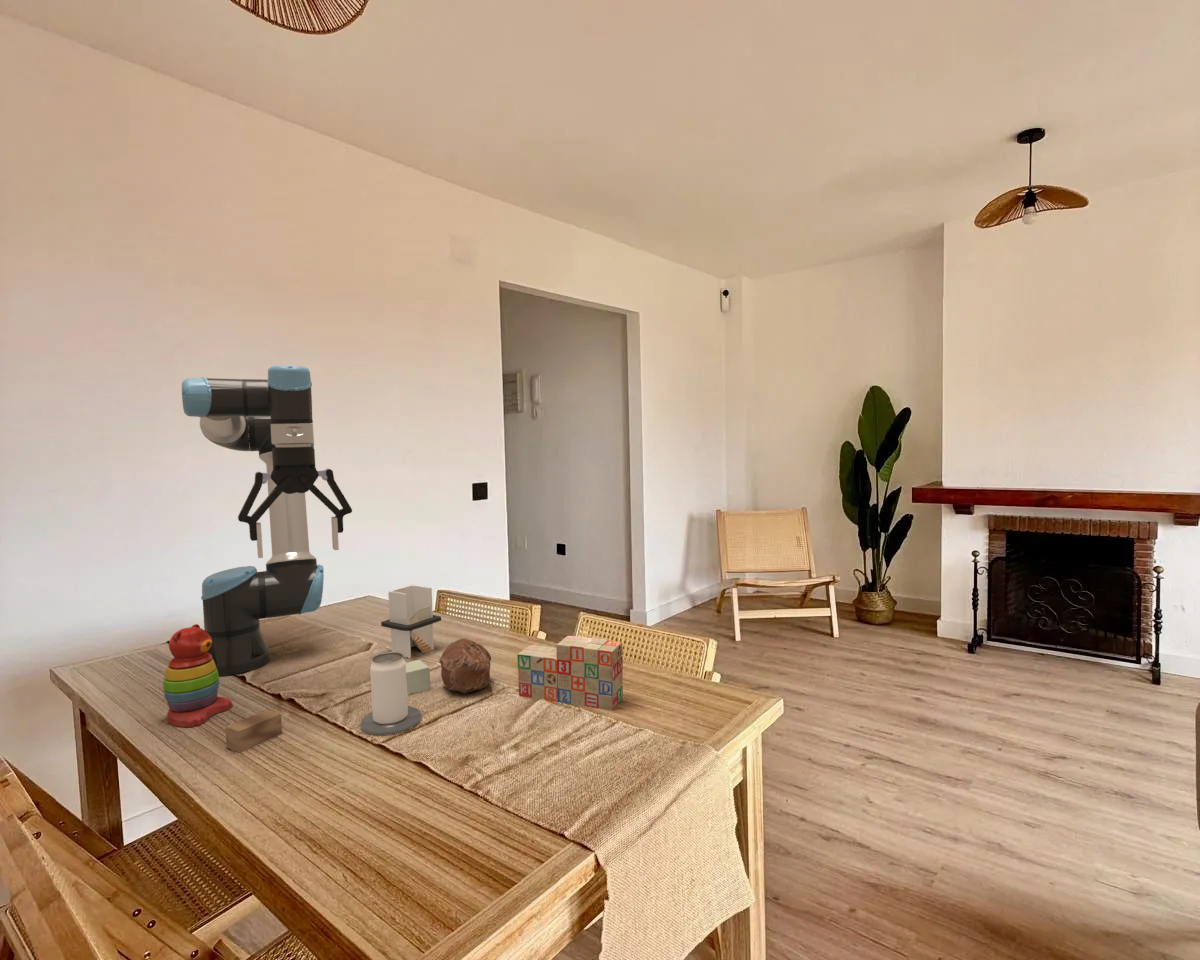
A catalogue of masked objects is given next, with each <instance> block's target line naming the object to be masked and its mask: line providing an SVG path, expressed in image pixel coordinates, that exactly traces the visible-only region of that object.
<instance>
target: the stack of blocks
mask: <svg viewBox="0 0 1200 960" xmlns="http://www.w3.org/2000/svg"><path fill="white" fill-rule="evenodd" d="M516 659H517V669H518V670H517V676H518V680H517V681H518V696H519V697H526V698H531V699H535V700H541V699H546V700H545V701H547V700H548V701H549V702H556V703H561V704H568V705H574V706H575V705H576V706H582V707H587V708H591V709H592V708H593V709H598V710H599V709H600V710H606V711H611V712H612V711H614V710H615V709H616V707H617V706H618V705H619V704H620V702H621V701H622V700H623V699H624V697H623V696H624V695H623V693H624V692H623V691H624V690H623V689H624V687H623V676H624V675H623V670H624V669H623V668H624V667H623V664H624V663H623V661H624V660H623V659H624V658H623V641H618V640H617V641H616V640H608V639H607V638H597V637H595V638H593V637H585V636H575V635H567V636H565V637H564V638H563V639H561V641H559V642H558V643H556V647H552V646H551V647H550V646H543V645H542V646H541V645H535V644H533V645H532V644H530V645H529V646H527V647H526V648H524V649H523V650H521V651H520V652H518V653H517V658H516Z"/></svg>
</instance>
